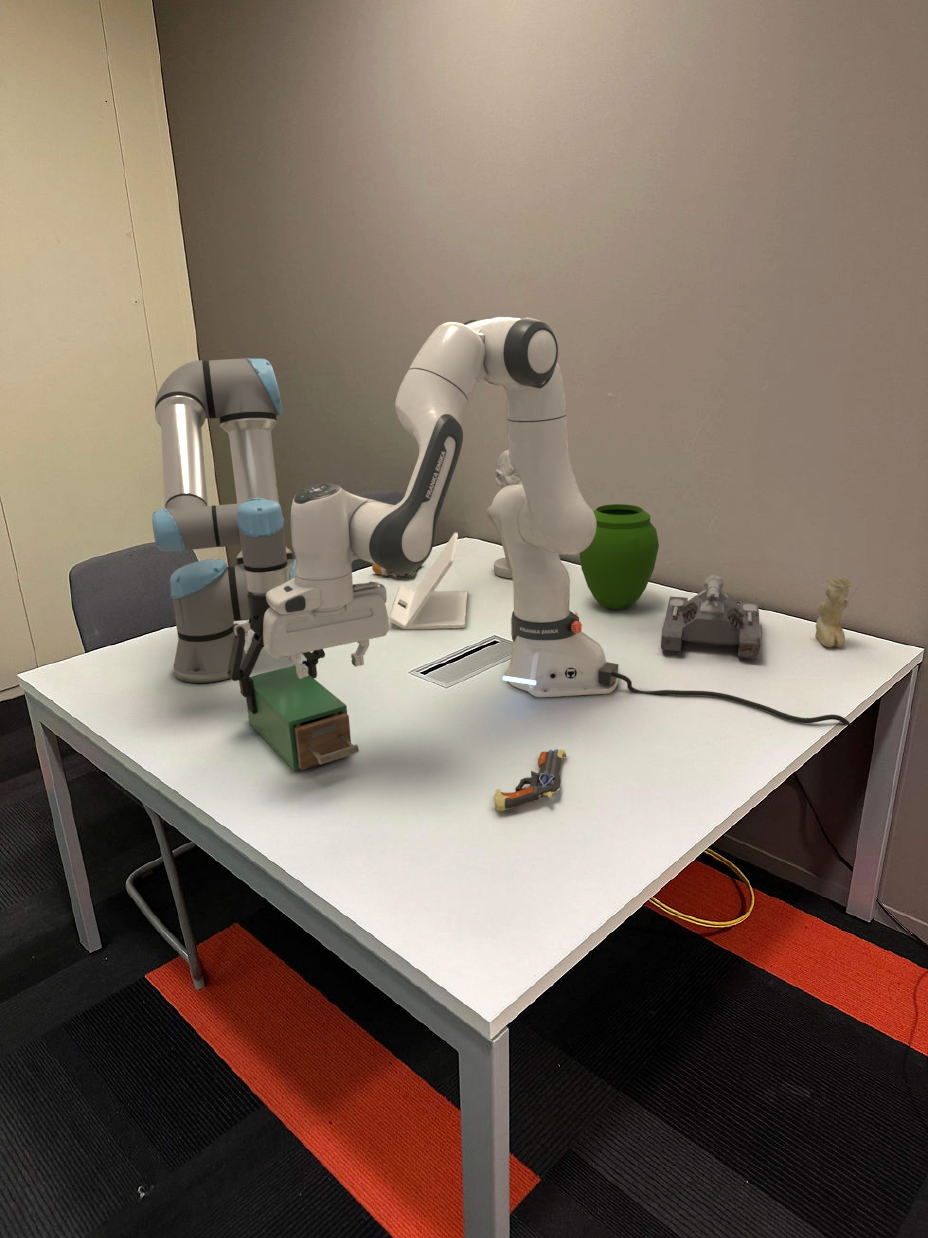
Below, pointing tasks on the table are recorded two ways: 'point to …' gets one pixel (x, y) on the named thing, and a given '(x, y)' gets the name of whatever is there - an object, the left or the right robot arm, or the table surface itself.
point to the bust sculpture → (503, 477)
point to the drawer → (323, 740)
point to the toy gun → (534, 782)
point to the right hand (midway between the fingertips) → (330, 670)
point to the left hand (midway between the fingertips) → (281, 702)
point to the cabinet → (289, 708)
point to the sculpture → (832, 613)
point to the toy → (712, 621)
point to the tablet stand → (431, 599)
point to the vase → (620, 555)
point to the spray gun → (385, 572)
